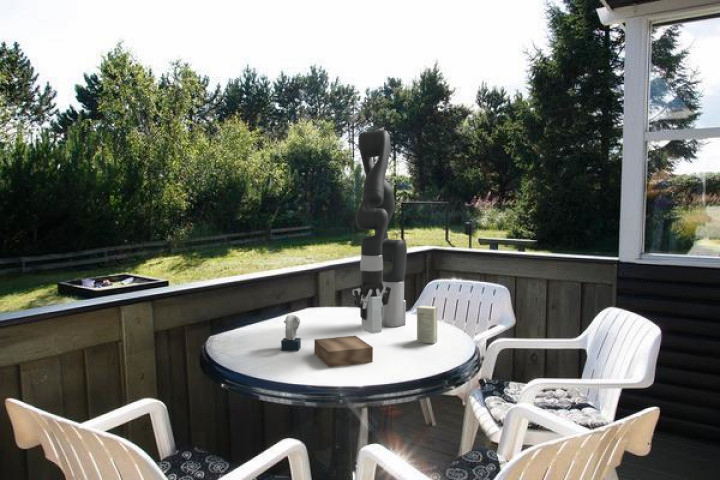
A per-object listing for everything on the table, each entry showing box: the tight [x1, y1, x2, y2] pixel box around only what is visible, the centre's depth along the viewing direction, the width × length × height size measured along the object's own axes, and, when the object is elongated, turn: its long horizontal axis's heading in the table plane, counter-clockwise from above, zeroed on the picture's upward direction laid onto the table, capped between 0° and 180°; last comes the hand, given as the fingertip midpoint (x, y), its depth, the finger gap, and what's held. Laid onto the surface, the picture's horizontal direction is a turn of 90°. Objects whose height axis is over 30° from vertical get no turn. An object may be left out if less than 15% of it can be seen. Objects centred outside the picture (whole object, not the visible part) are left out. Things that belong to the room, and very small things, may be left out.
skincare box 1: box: [360, 295, 383, 335], centre depth 179 cm, size 6×4×12 cm
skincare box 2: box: [416, 305, 438, 344], centre depth 184 cm, size 6×4×12 cm
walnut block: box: [313, 335, 374, 368], centre depth 165 cm, size 14×14×5 cm
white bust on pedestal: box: [280, 314, 302, 352], centre depth 173 cm, size 6×8×11 cm
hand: (371, 318), depth 179 cm, fingers closed on skincare box 1, 5 cm apart
